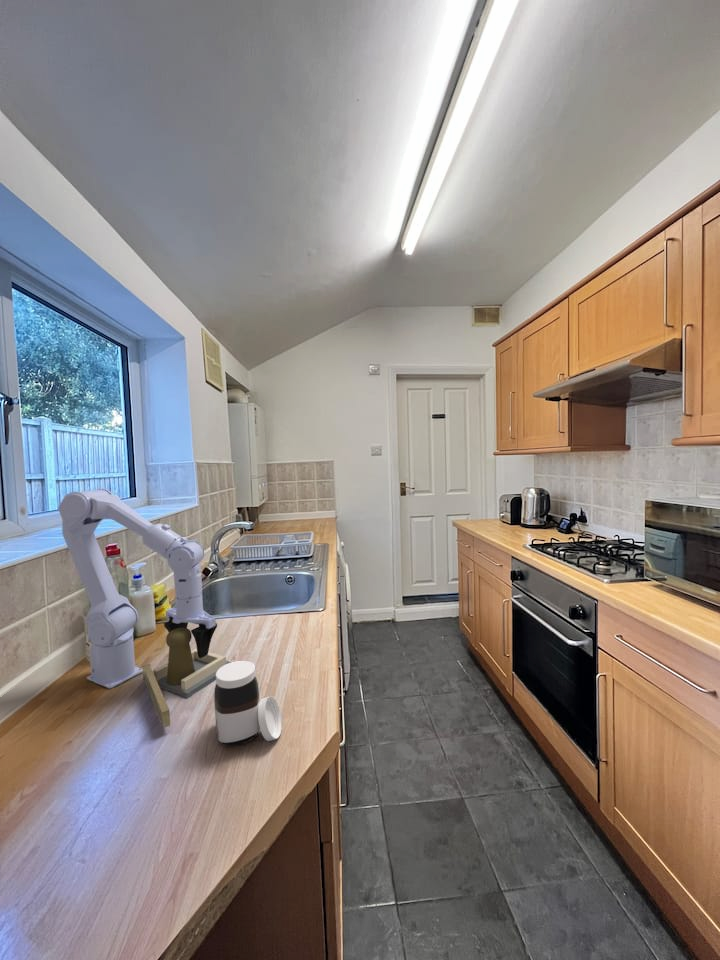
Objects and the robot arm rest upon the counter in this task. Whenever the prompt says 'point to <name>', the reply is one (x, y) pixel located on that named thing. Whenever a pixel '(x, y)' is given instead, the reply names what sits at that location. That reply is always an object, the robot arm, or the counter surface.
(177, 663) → the brown rounded piece
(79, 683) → the counter surface
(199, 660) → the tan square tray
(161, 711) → the bar
